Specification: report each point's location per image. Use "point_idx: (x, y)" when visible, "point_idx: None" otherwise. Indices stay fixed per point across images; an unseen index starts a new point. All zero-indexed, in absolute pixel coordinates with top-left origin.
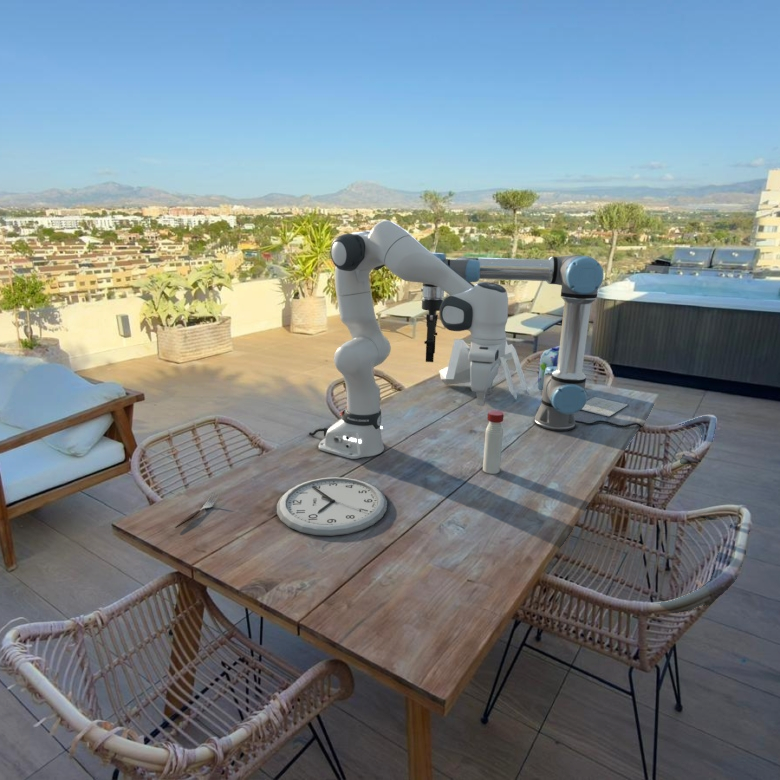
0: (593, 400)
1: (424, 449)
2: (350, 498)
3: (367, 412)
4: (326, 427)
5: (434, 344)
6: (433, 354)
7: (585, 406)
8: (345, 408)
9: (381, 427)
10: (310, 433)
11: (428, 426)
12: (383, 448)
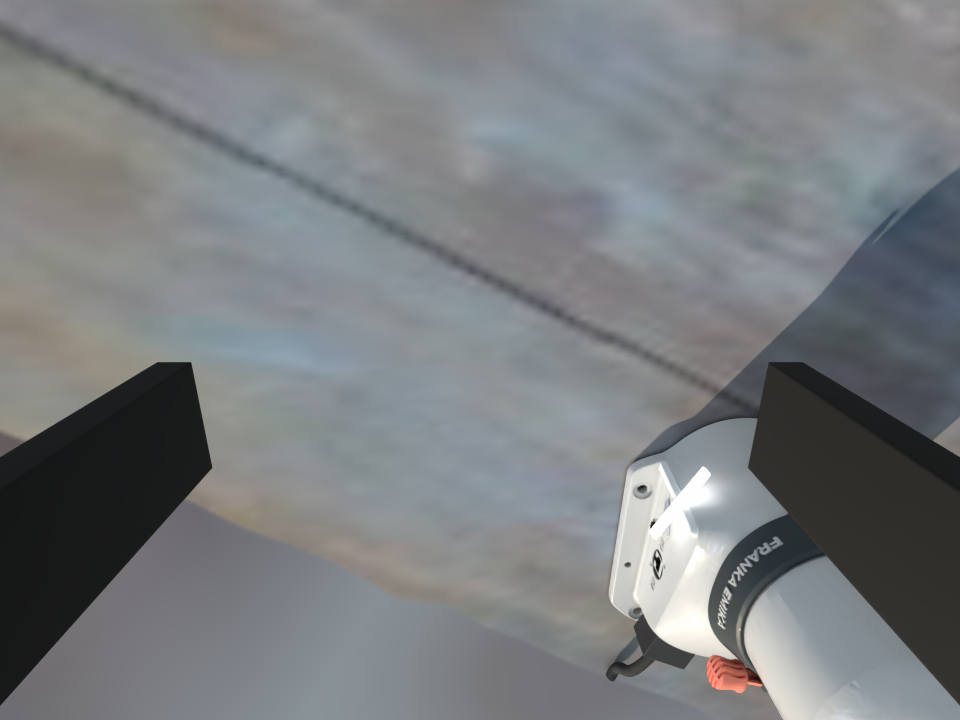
0: None
1: (739, 246)
2: None
3: None
4: (678, 662)
5: (86, 447)
6: (895, 420)
7: None
8: (763, 689)
9: (706, 474)
10: (616, 676)
11: (438, 242)
12: (753, 421)
